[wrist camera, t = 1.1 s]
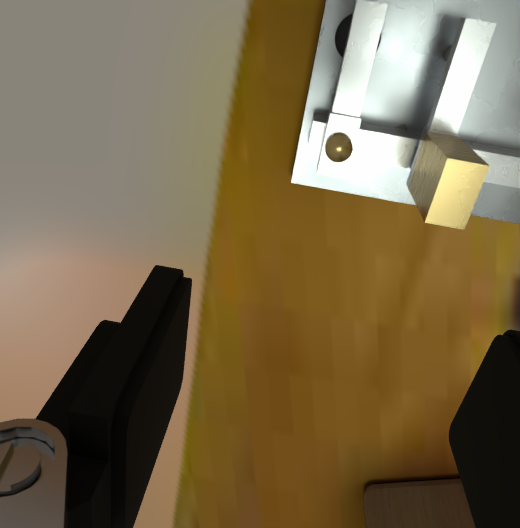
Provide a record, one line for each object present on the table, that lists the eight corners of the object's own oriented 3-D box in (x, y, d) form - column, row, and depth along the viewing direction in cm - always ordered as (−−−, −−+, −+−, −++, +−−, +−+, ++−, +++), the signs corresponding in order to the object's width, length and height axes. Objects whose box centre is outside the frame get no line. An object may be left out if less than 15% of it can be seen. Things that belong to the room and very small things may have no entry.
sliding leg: (446, 15, 24) (496, 21, 18) (482, 21, 24) (544, 29, 17) (398, 172, 28) (424, 224, 22) (428, 177, 28) (463, 231, 22)
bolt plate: (334, -45, 25) (338, -55, 20) (682, 15, 24) (761, 18, 20) (291, 176, 30) (288, 205, 26) (571, 226, 30) (613, 263, 26)
